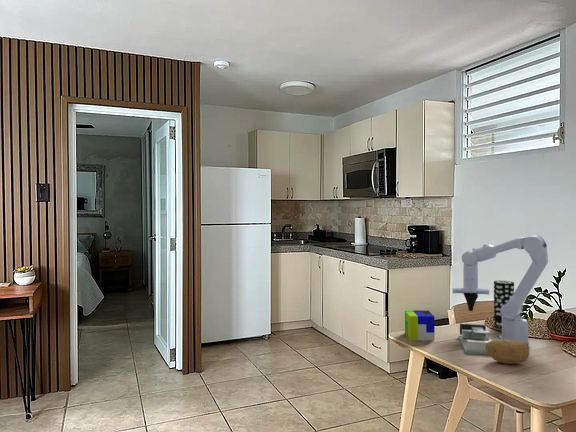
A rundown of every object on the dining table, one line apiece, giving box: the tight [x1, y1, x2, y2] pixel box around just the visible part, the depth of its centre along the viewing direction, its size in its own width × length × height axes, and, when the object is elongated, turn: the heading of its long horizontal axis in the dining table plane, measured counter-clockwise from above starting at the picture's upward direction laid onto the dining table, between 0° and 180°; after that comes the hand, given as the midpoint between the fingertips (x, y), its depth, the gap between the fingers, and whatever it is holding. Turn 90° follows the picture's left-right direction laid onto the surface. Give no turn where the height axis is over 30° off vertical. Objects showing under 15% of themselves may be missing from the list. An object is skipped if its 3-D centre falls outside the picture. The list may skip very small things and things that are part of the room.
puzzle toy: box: [404, 309, 435, 341], centre depth 189 cm, size 10×10×10 cm
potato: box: [485, 339, 530, 365], centre depth 157 cm, size 10×14×8 cm
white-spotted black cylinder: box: [493, 280, 515, 327], centre depth 203 cm, size 8×8×20 cm
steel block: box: [471, 327, 486, 341], centre depth 175 cm, size 4×8×6 cm, turn 166°
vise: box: [458, 336, 492, 356], centre depth 174 cm, size 12×18×4 cm, turn 167°
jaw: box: [459, 323, 490, 340], centre depth 184 cm, size 10×8×4 cm
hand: (470, 310), depth 192 cm, fingers closed
